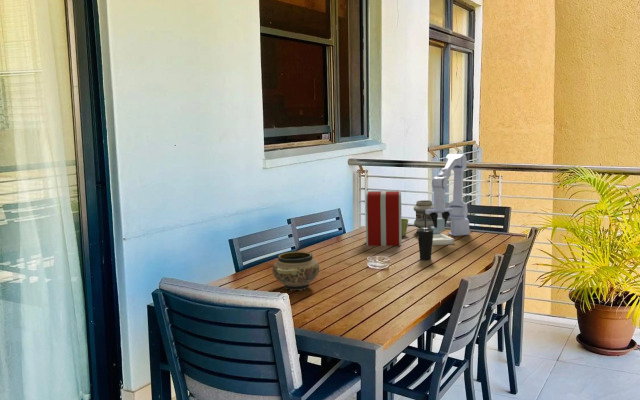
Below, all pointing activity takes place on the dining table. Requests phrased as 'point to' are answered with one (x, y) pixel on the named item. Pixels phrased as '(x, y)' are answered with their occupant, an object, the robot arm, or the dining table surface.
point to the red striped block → (383, 218)
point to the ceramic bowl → (296, 270)
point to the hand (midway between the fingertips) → (439, 227)
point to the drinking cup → (425, 242)
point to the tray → (442, 239)
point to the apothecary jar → (423, 214)
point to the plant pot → (404, 226)
